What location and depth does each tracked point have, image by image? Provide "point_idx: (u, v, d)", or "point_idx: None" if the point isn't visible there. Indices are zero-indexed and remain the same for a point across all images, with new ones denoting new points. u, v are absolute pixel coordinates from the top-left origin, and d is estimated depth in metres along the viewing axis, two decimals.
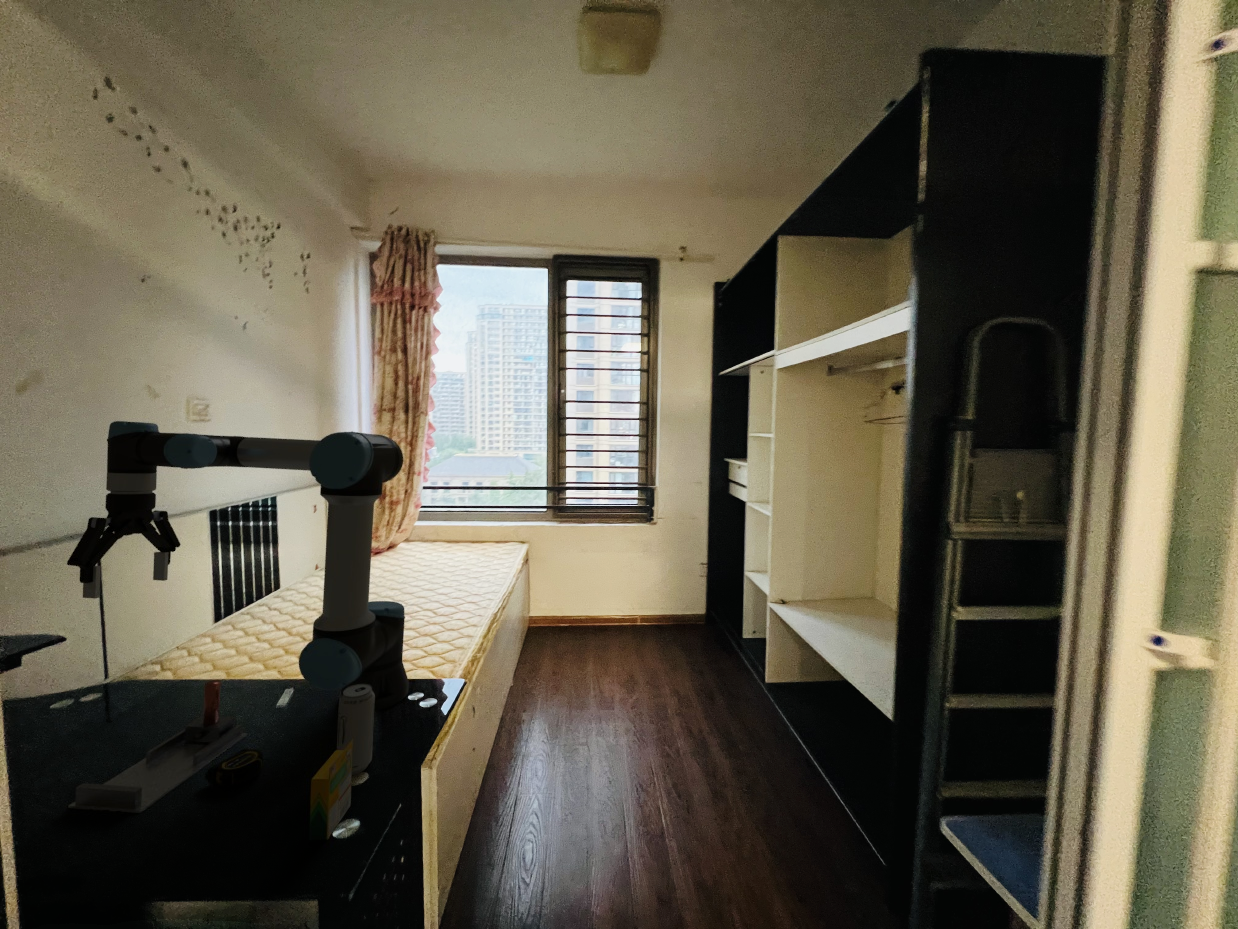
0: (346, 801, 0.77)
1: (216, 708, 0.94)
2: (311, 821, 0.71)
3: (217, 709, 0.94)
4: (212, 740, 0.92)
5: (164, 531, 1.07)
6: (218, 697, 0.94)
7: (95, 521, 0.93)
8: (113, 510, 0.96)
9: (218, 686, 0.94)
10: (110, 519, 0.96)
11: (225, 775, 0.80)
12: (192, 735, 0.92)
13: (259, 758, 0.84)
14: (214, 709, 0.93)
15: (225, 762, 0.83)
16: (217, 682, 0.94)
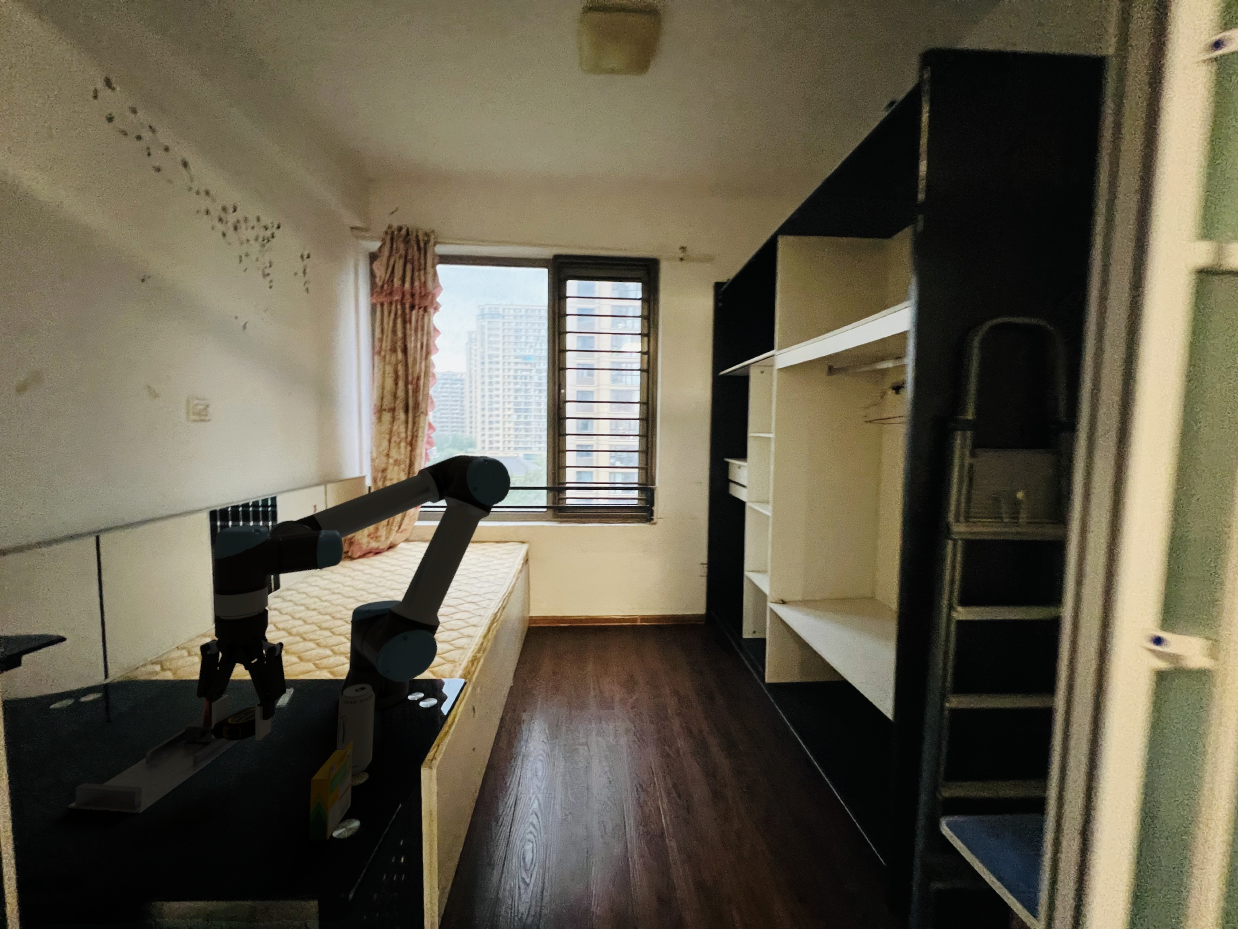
0: (346, 801, 0.77)
1: None
2: (311, 821, 0.71)
3: None
4: (212, 740, 0.92)
5: None
6: None
7: None
8: None
9: None
10: (216, 641, 0.83)
11: (232, 728, 0.81)
12: (192, 735, 0.92)
13: None
14: None
15: (231, 717, 0.83)
16: None
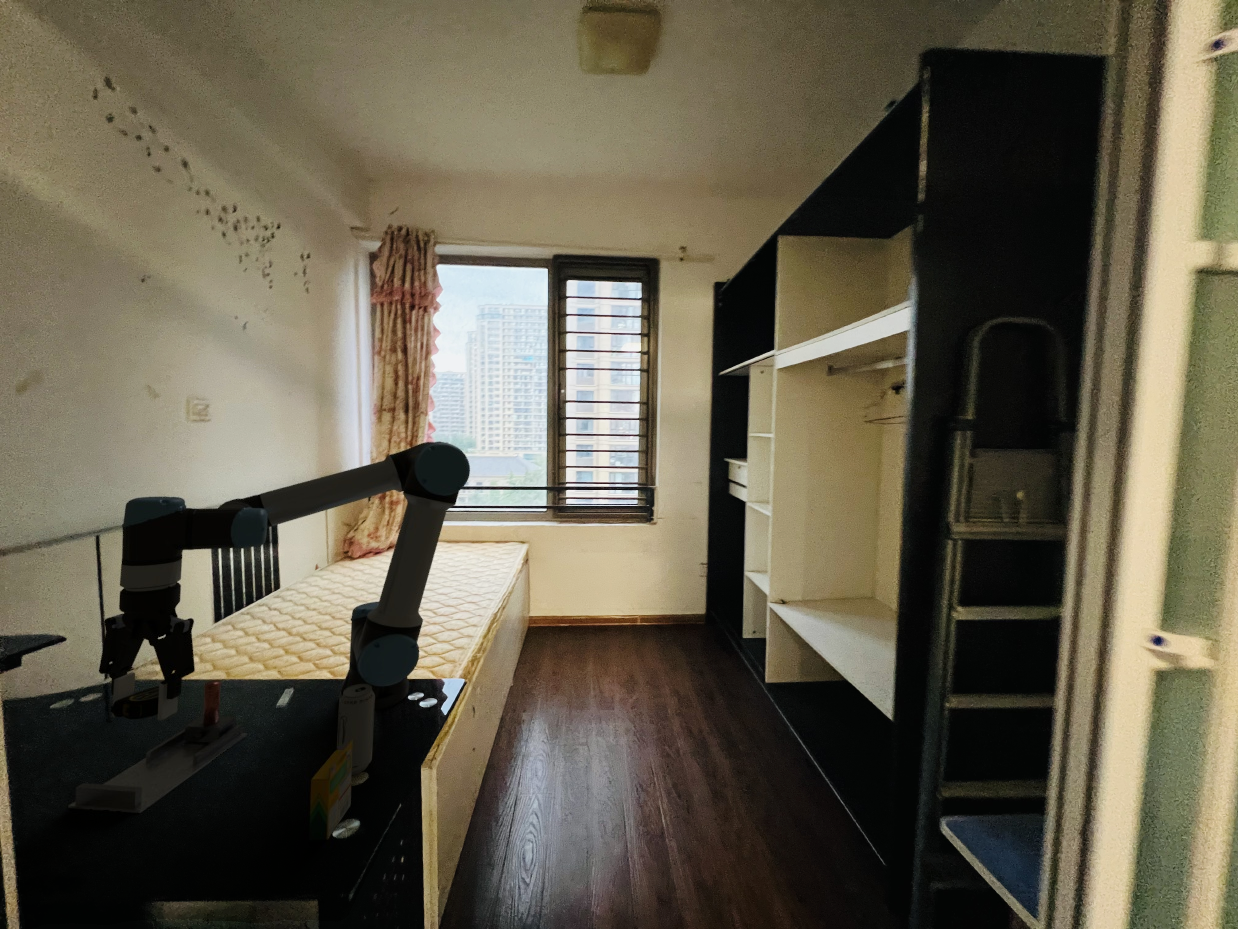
0: (346, 801, 0.77)
1: (216, 708, 0.94)
2: (311, 821, 0.71)
3: (217, 709, 0.94)
4: (212, 740, 0.92)
5: None
6: (218, 697, 0.94)
7: None
8: None
9: (218, 686, 0.94)
10: (123, 615, 0.80)
11: (133, 706, 0.78)
12: (192, 735, 0.92)
13: None
14: (214, 709, 0.93)
15: (134, 695, 0.80)
16: (217, 682, 0.94)
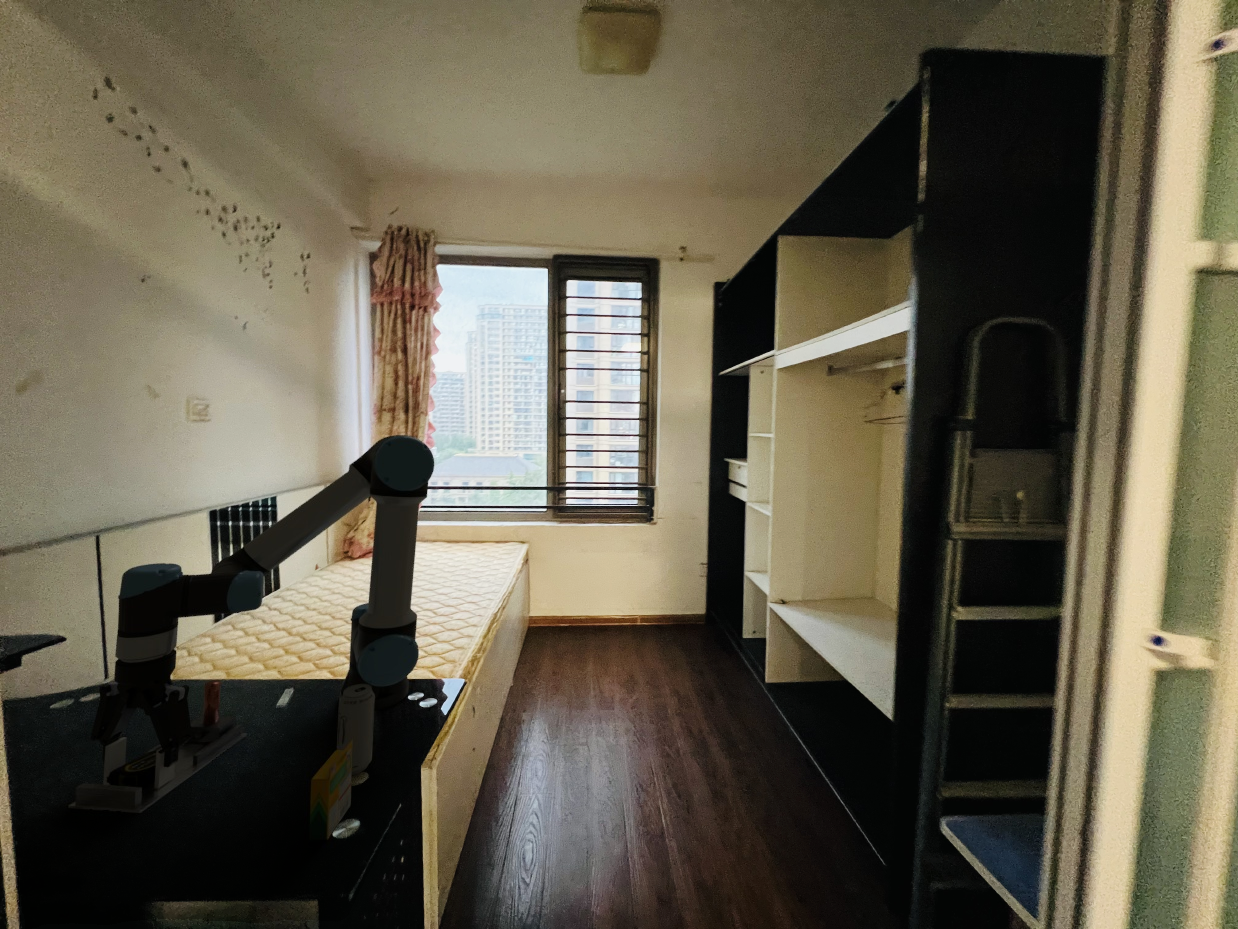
0: (346, 801, 0.77)
1: (216, 708, 0.94)
2: (311, 821, 0.71)
3: (217, 709, 0.94)
4: (212, 740, 0.92)
5: None
6: (218, 697, 0.94)
7: None
8: None
9: (218, 686, 0.94)
10: (118, 683, 0.80)
11: (128, 777, 0.78)
12: (192, 735, 0.92)
13: None
14: (214, 709, 0.93)
15: (130, 764, 0.80)
16: (217, 682, 0.94)
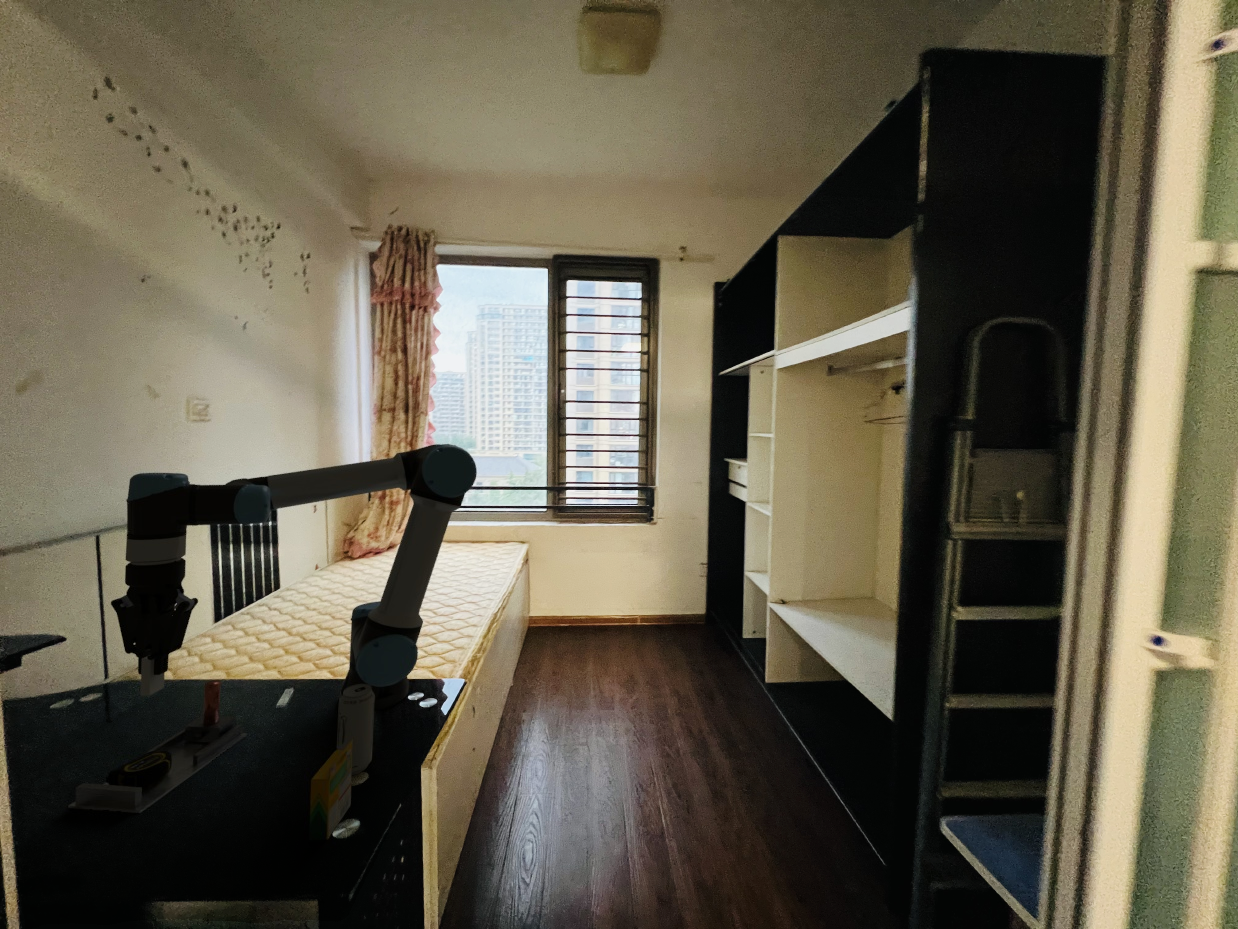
0: (346, 801, 0.77)
1: (216, 708, 0.94)
2: (311, 821, 0.71)
3: (217, 709, 0.94)
4: (212, 740, 0.92)
5: None
6: (218, 697, 0.94)
7: None
8: None
9: (218, 686, 0.94)
10: (127, 590, 0.80)
11: (127, 777, 0.78)
12: (192, 735, 0.92)
13: (167, 759, 0.82)
14: (214, 709, 0.93)
15: (129, 764, 0.80)
16: (217, 682, 0.94)
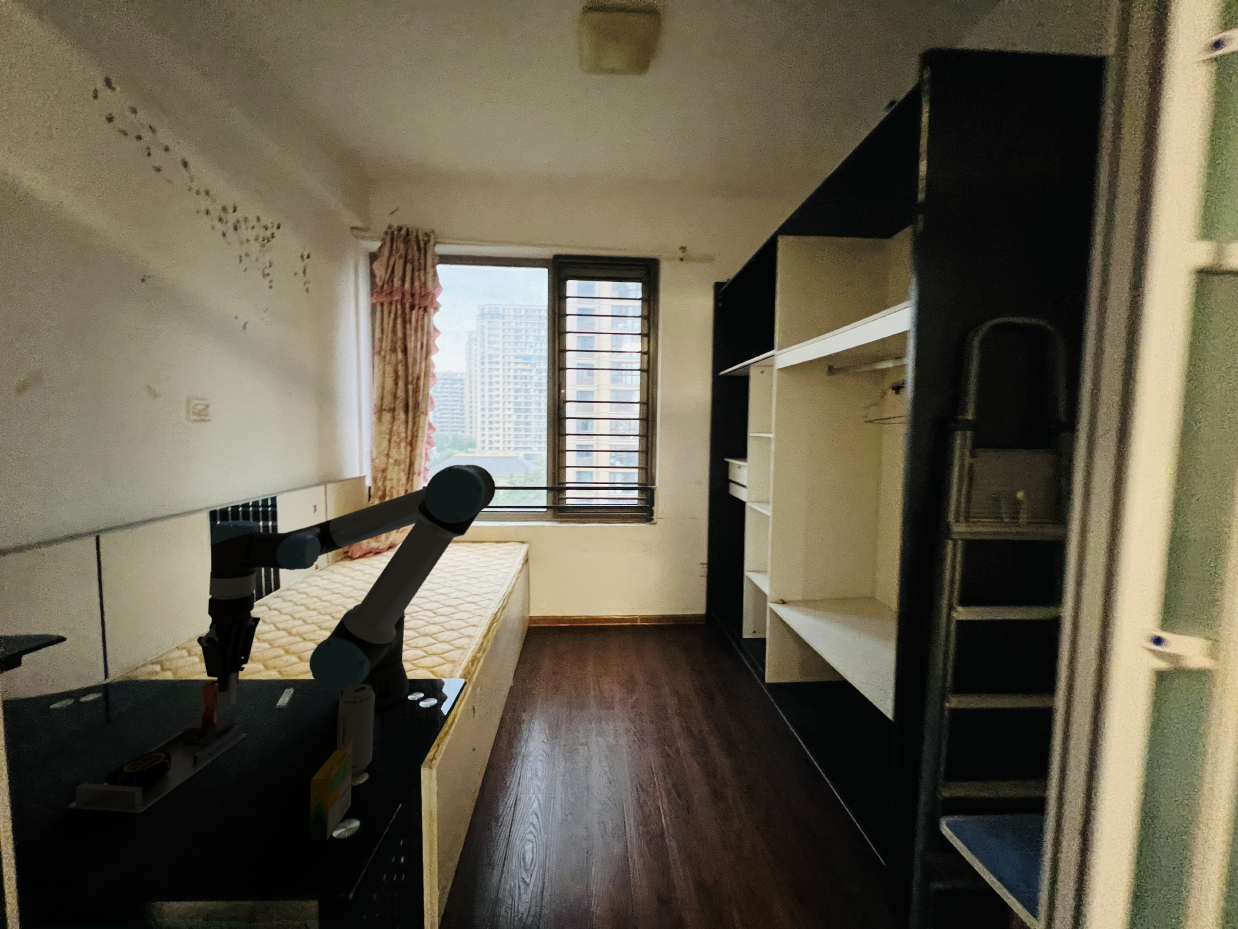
0: (346, 801, 0.77)
1: (214, 709, 0.93)
2: (311, 821, 0.71)
3: (215, 710, 0.93)
4: (210, 741, 0.91)
5: (245, 640, 1.01)
6: (216, 698, 0.93)
7: (205, 643, 0.91)
8: (217, 617, 0.94)
9: (216, 687, 0.93)
10: (214, 627, 0.93)
11: (127, 777, 0.78)
12: (190, 736, 0.91)
13: (166, 759, 0.82)
14: (212, 710, 0.93)
15: (128, 764, 0.80)
16: (215, 683, 0.94)
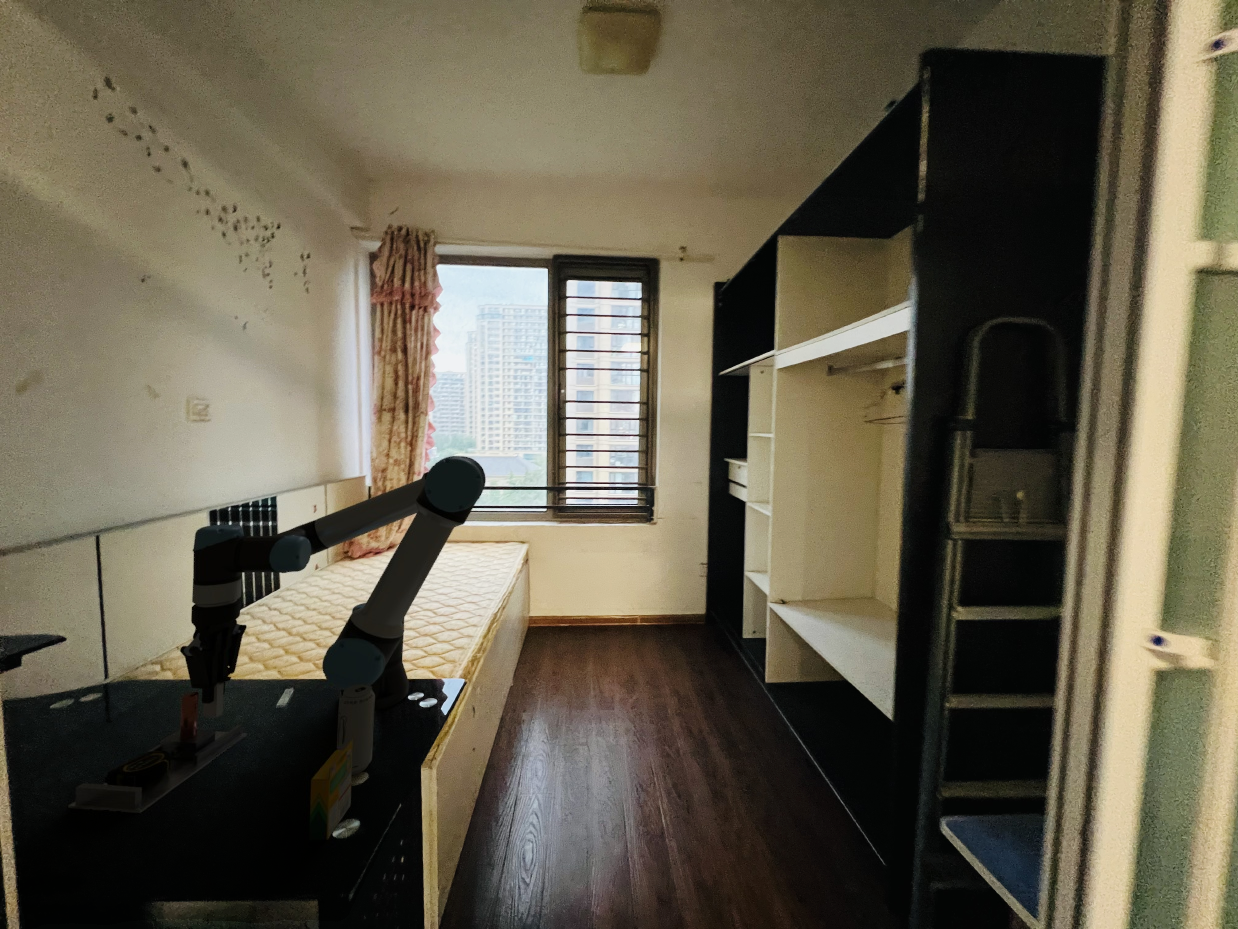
0: (346, 801, 0.77)
1: (194, 722, 0.89)
2: (311, 821, 0.71)
3: (195, 723, 0.89)
4: (189, 756, 0.87)
5: (231, 649, 0.97)
6: (196, 710, 0.89)
7: (188, 652, 0.87)
8: (201, 625, 0.90)
9: (196, 698, 0.89)
10: (199, 636, 0.89)
11: (126, 777, 0.78)
12: (168, 750, 0.87)
13: (165, 759, 0.82)
14: (191, 723, 0.88)
15: (128, 764, 0.80)
16: (195, 694, 0.89)
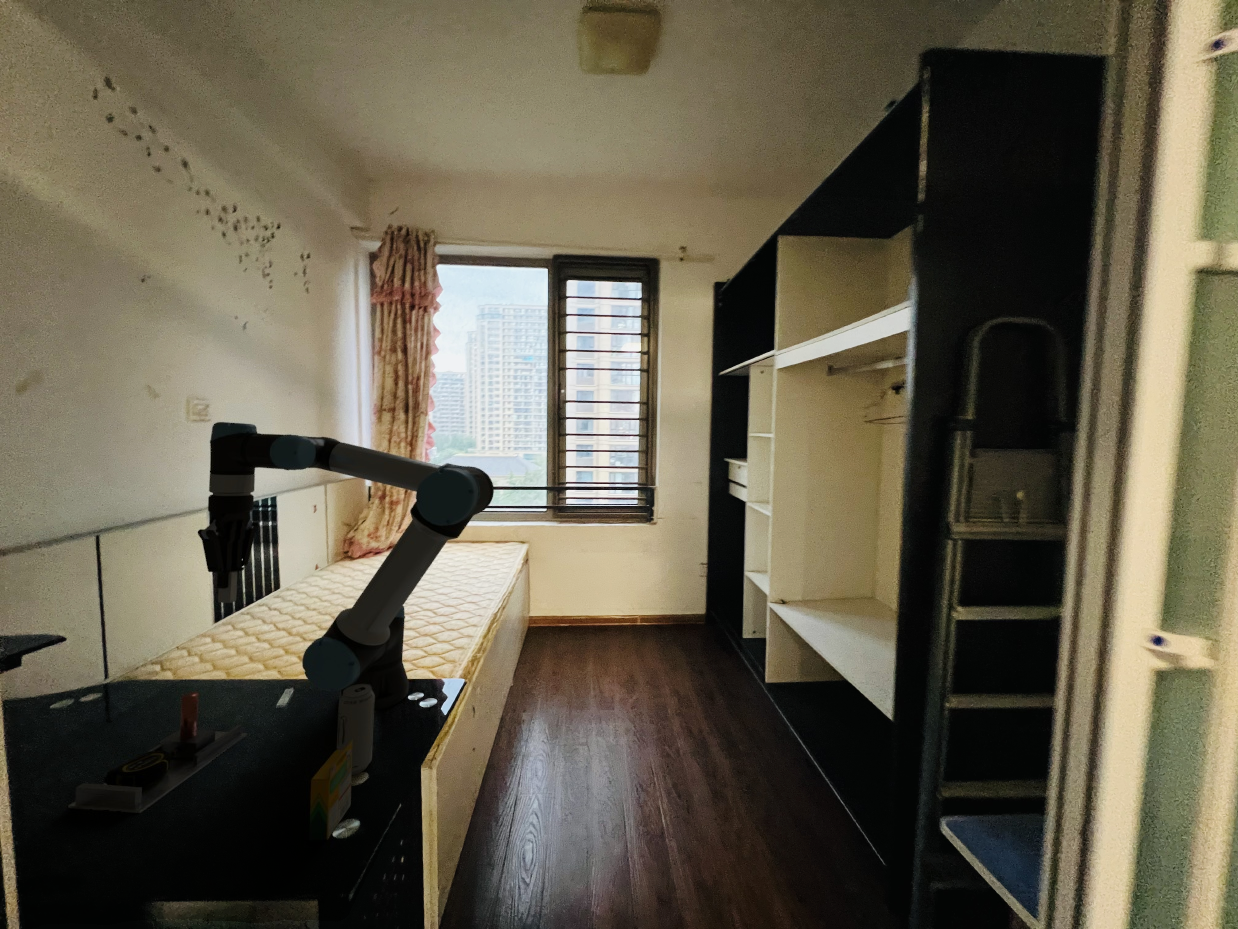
0: (346, 801, 0.77)
1: (194, 722, 0.89)
2: (311, 821, 0.71)
3: (195, 723, 0.89)
4: (189, 756, 0.87)
5: (244, 543, 1.03)
6: (196, 710, 0.89)
7: (205, 535, 0.93)
8: (217, 512, 0.95)
9: (196, 698, 0.89)
10: (215, 521, 0.95)
11: (125, 777, 0.78)
12: (168, 750, 0.87)
13: (165, 760, 0.82)
14: (191, 723, 0.88)
15: (127, 764, 0.80)
16: (195, 694, 0.89)
